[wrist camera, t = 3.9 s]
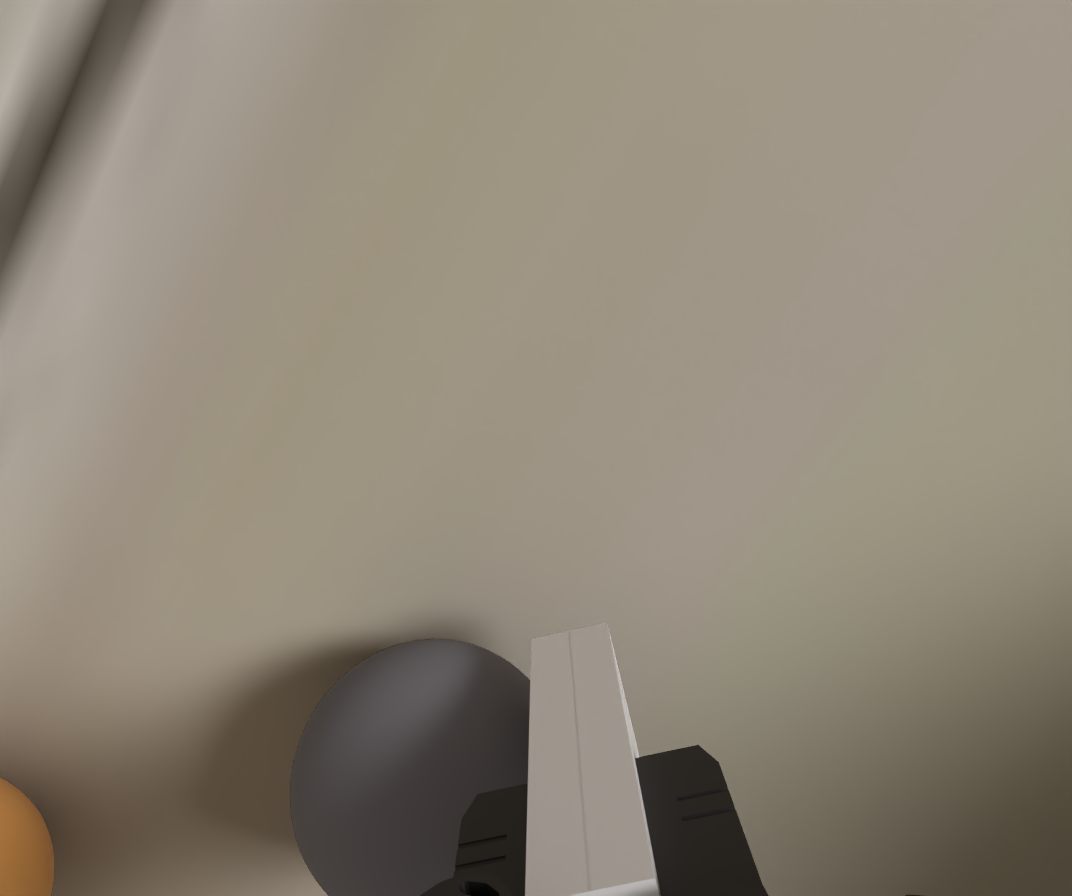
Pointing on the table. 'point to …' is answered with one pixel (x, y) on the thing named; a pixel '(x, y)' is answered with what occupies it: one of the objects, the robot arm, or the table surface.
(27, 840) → the orange ball
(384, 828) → the charcoal ball
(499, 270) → the table surface
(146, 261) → the table surface
